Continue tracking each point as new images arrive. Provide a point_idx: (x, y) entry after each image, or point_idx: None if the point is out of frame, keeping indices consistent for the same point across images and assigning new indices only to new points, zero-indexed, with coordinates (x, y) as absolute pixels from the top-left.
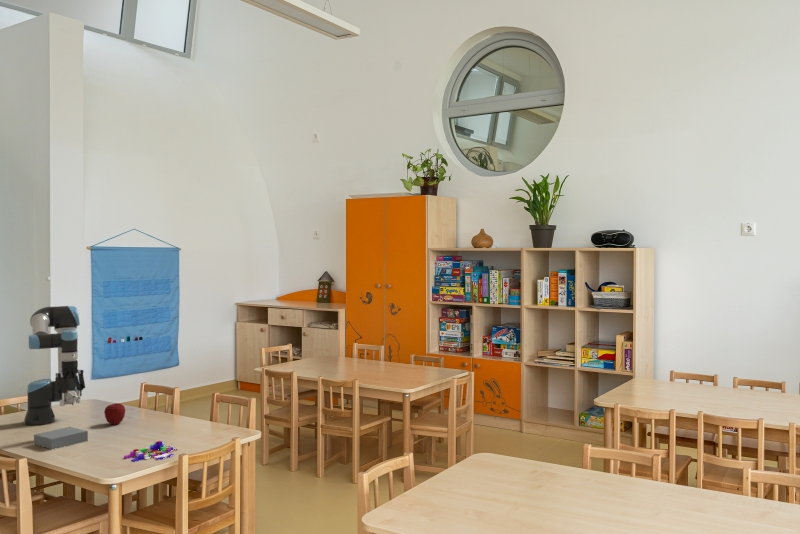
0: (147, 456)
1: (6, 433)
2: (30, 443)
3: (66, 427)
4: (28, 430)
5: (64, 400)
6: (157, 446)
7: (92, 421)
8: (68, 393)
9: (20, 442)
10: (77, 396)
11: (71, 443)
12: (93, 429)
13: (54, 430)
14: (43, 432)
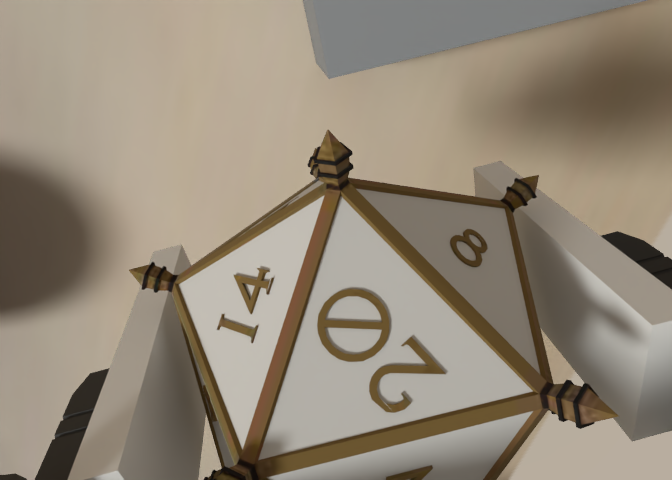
0: None
1: (550, 411)
2: (615, 61)
3: (367, 62)
4: None
5: (535, 189)
6: None
7: (55, 420)
8: (496, 328)
9: (631, 150)
10: (201, 295)
11: None
12: (77, 176)
13: (505, 11)
14: (609, 6)
